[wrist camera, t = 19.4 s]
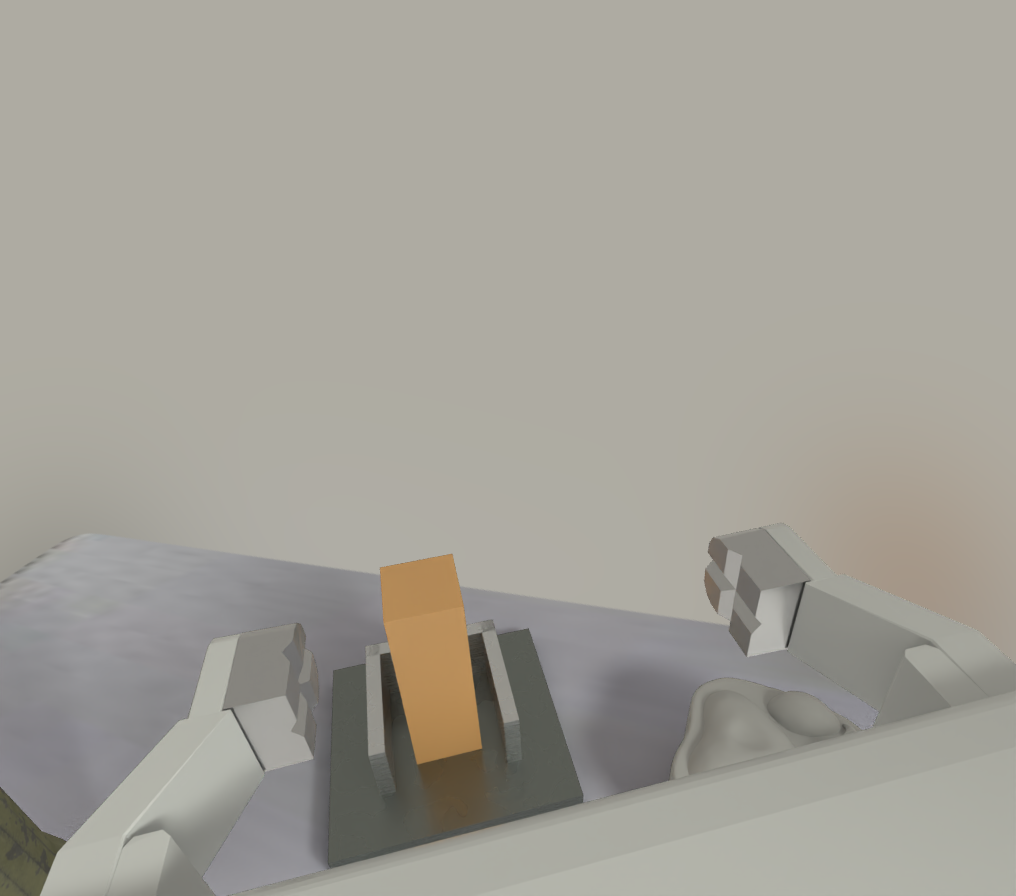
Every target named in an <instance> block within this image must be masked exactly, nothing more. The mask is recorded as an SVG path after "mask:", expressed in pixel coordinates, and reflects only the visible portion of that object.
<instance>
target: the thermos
mask: <svg viewBox="0 0 1016 896" xmlns="http://www.w3.org/2000/svg"><path fill="white" fill-rule="evenodd" d="M65 844H66V841H65V840H63V839H61V838H58V837H55V836H53V835H50V834H47V833H45V832H42V831H41V830H40V829H39V828H38V827H37V826H36V825H35V824H34V823H33V822H32V820H31V819H30V818H29V817H28V816H27V815H26V814H25V813H24V812H23V811H22V810H21V809H20V808H19V807H18V805H17V804H16V803H15V802H14V801H13V800H12V799H11V798H10V797H9V796H8V795H7V794H6V793H5V792H4V791H3V789H2V788H1V787H0V896H40V894H41V892H42V889H43V887H44V884H45V882H46V879H47V877H48V874H49V872H50V869H51V867H52V864H53V862H54V860H55V857H56V855H57V852H58V851H59V850H60V849H61V848H62V847H63V846H64V845H65Z"/></svg>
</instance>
